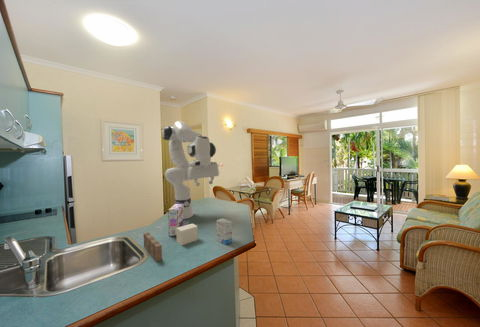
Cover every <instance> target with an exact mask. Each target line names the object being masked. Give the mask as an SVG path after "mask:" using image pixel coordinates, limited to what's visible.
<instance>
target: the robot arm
mask: <svg viewBox="0 0 480 327" xmlns="http://www.w3.org/2000/svg"><path fill="white" fill-rule="evenodd" d="M160 133H161V137H162V139H163V140H164V141H169V142H168V151H169V152H168V153H169V157H170V161H171V162H172V164H174V165H176V167H175V166H173V167H170V168H167V169H166V170H165V172H164V178H165V180H166V181H167V182H169V183H170V184H171V185H172V187H173V188H174V189H173V190H174V194H175V198H174V204H173V205H171V207H173V206H174V205H175V204H184V220H185V219H190V218H192V217H193V216H194V215H195V212H194V208H193V204H192V199H191V188H190V187H189V186H188V185H185V184H184V182H185V181H192V180H193V182H194V183H195V187H199V186H200V182H198V179H202V178H203V179H205V178H210V180H208V184H209V185H213V184H214V183H213V181H214V179H215V177H219V175H220V172H219V164H218V163H217V162H216V161H211V160H212V159H211V158H213V157H214V156H215V154H216V152H217V148H216V146H215V144H214V143H213V142H210V139H209V137H208V136H203V135H201V134H200V133H198V132H197V131H195V130H193V129H192V128H191V127H190V126H189V125H188V124H187V123H186V122H184V121H183V120H177V121H175V122H174V124H173V126H164V127H163V128H161V132H160ZM183 143H190V144H189V145H188V146H187V154H188V156H190V157H191V158H195V160H193V161H190V162H189V161H188V159H187V157H186V154H185V150H184V148H183Z"/></svg>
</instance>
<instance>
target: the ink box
mask: <svg viewBox="0 0 480 327" xmlns="http://www.w3.org/2000/svg"><path fill="white" fill-rule="evenodd" d="M216 241H217V242H219V243H221V244H223V245H225V246H227V245H229V244H231V243H233V221H231V220H228V219H226V218H219V219H217V220H216Z"/></svg>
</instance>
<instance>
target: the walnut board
mask: <svg viewBox="0 0 480 327" xmlns="http://www.w3.org/2000/svg"><path fill="white" fill-rule="evenodd" d="M162 246H163V245H162V244H161V243H160V242H159V241H158V240H157V239H156V238H155V237H154V236H153V235H152V234H151V233H150V232H144V233H143V247H144V248H145V250H146V251H147V252H148V253H149V254H150V255H151V257H152V258H153V259H154V260H155V262H160V261H162V260H163V252H162V248H163V247H162Z"/></svg>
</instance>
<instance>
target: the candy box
mask: <svg viewBox="0 0 480 327" xmlns="http://www.w3.org/2000/svg"><path fill="white" fill-rule="evenodd" d="M174 204H175V203H174ZM174 204H173V205H174ZM173 205H172V206H173ZM172 206H171V207H170V208H168V210H167V211H168V213H167V214H168V237H177V234H176V228H178V227H182V226H185V225H186V224H185V219H184V204H175V205H174V206H173V207H172Z"/></svg>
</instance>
